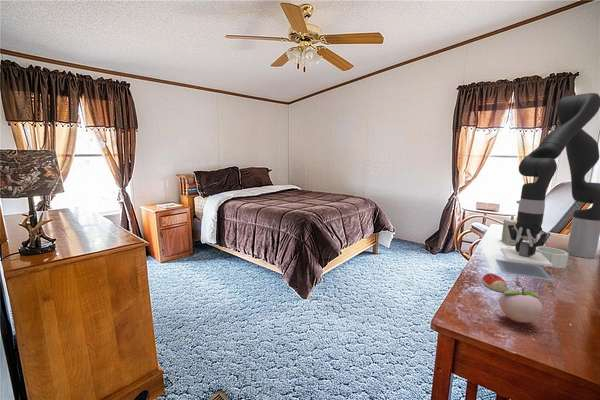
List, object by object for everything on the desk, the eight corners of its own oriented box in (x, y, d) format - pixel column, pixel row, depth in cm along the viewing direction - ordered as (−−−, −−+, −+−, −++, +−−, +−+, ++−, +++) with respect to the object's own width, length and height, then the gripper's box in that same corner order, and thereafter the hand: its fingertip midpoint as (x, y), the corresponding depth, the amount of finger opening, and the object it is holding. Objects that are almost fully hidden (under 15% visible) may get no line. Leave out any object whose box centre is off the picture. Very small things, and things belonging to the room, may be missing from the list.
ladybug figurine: (491, 292, 90) (493, 282, 89) (476, 279, 99) (477, 270, 99) (513, 294, 89) (515, 284, 88) (495, 280, 99) (496, 271, 98)
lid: (500, 249, 114) (502, 236, 113) (539, 254, 109) (542, 240, 108) (507, 260, 103) (509, 245, 102) (551, 266, 97) (554, 251, 96)
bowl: (530, 258, 119) (532, 245, 118) (559, 262, 115) (562, 248, 114) (537, 266, 111) (539, 252, 110) (570, 271, 106) (572, 256, 105)
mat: (495, 260, 117) (495, 259, 116) (539, 267, 110) (539, 265, 110) (502, 274, 103) (502, 272, 103) (553, 282, 97) (553, 280, 97)
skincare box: (516, 246, 135) (520, 222, 133) (507, 245, 136) (510, 221, 134) (509, 242, 141) (513, 219, 139) (500, 241, 142) (503, 218, 140)
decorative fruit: (513, 333, 69) (519, 297, 67) (491, 314, 77) (495, 281, 76) (550, 333, 69) (556, 297, 67) (523, 314, 77) (528, 281, 76)
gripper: (559, 213, 97) (552, 259, 100) (517, 206, 110) (512, 246, 113) (545, 215, 95) (538, 261, 98) (504, 207, 108) (499, 248, 111)
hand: (524, 253), depth 105 cm, fingers closed on lid, 3 cm apart
